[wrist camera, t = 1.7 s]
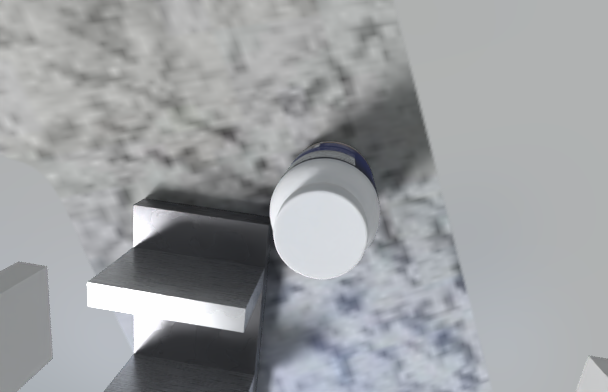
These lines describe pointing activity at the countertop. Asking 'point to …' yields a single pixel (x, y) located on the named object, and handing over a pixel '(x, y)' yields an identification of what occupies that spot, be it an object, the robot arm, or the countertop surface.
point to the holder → (189, 298)
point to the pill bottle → (325, 211)
